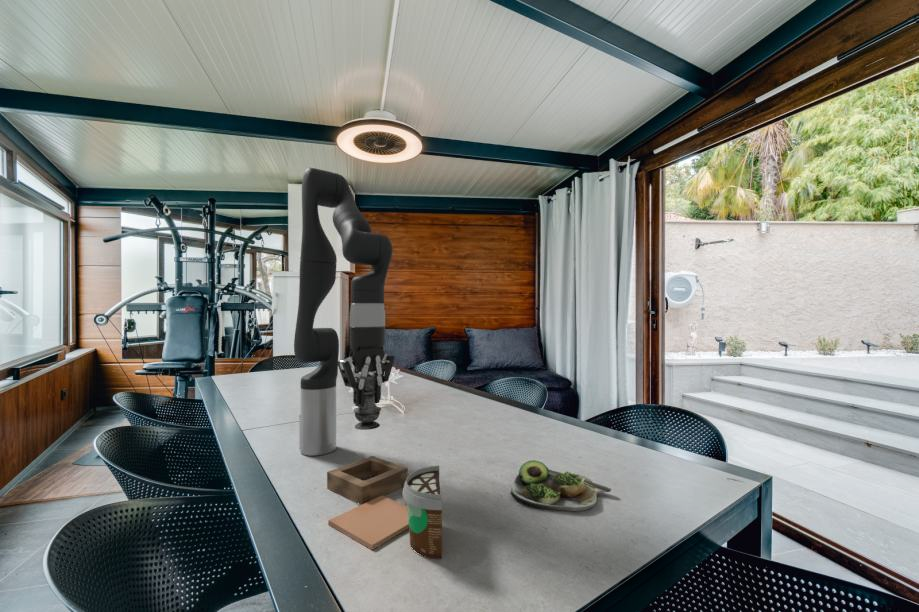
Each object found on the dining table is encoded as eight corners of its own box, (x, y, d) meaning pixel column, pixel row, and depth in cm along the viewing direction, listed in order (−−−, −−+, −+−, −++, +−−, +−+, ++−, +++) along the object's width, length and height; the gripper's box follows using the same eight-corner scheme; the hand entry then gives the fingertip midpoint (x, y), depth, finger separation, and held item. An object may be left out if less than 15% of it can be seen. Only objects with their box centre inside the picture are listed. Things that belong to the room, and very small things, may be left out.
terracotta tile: (328, 524, 69) (328, 520, 69) (381, 499, 78) (381, 495, 78) (372, 550, 61) (372, 545, 61) (425, 518, 71) (425, 514, 71)
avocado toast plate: (609, 482, 86) (608, 460, 86) (614, 523, 69) (613, 496, 69) (521, 472, 92) (521, 452, 92) (506, 507, 75) (505, 483, 76)
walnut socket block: (327, 488, 83) (327, 471, 83) (372, 470, 93) (372, 455, 93) (362, 505, 76) (362, 487, 76) (407, 484, 85) (407, 468, 85)
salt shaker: (374, 431, 81) (374, 372, 81) (348, 429, 82) (348, 371, 83) (385, 423, 87) (385, 368, 87) (360, 421, 88) (361, 368, 88)
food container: (404, 522, 70) (404, 465, 70) (439, 520, 70) (439, 464, 70) (400, 567, 57) (399, 498, 57) (442, 564, 58) (441, 496, 58)
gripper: (381, 323, 93) (381, 396, 93) (328, 325, 82) (328, 408, 82) (403, 324, 88) (403, 401, 88) (350, 326, 77) (350, 414, 77)
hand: (367, 404), depth 85 cm, fingers closed on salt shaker, 3 cm apart
